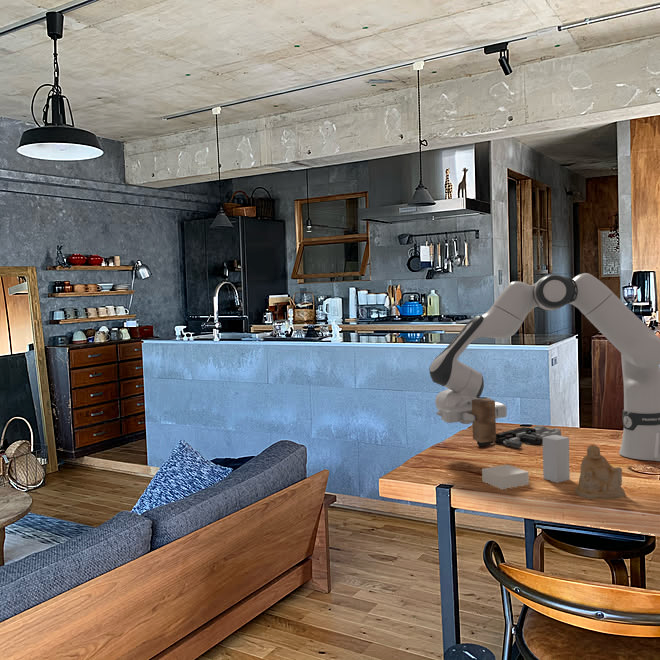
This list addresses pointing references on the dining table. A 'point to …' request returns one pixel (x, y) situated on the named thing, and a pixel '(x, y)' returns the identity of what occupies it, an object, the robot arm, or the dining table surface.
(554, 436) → the grey block
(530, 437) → the toy gun
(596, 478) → the statue
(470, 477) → the dining table surface
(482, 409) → the walnut block
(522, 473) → the cream base
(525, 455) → the dining table surface
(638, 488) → the dining table surface
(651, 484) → the dining table surface
